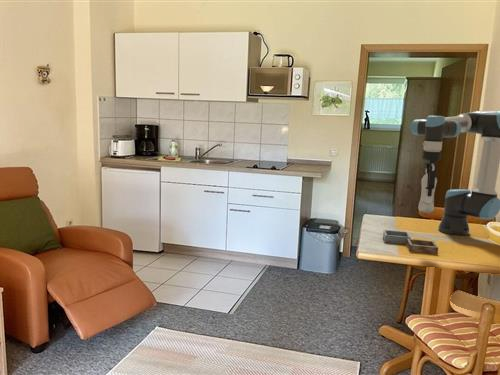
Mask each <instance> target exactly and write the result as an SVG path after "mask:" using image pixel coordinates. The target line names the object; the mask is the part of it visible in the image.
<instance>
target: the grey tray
mask: <svg viewBox="0 0 500 375" xmlns="http://www.w3.org/2000/svg"><path fill="white" fill-rule="evenodd" d="M382 237H383V242H384V243H387V244H389V243H391V244H401V245H406V242H407V239H412V237H411V235H410V234H409V232H408V231H400V230H390V229H389V230H388V229H383V234H382Z"/></svg>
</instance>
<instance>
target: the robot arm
mask: <svg viewBox="0 0 500 375" xmlns="http://www.w3.org/2000/svg"><path fill="white" fill-rule="evenodd" d="M409 127H410V132H411V134H412V135H414V136H419V137H420V136H421V137H423V136H424V139H423V142H422V146H423V151H422V160H425V161H426V162H425V163H424V172H423V173H424V174H423V176H424V175H425V174H426V172H425V171H426V168H427V174H428V180H427V187H426V188H425V189H426V197H425V203H429V204H432V195H433V189H434V188H435V187H434V186H435V177H436V174H437V173H436V172H437V168H438V167H437V164H436V161H441V158H442V152H441V151H442V148H443V138H450V139H451V138H456V137H458V136H459V135H460V134H461V133H471V134H478V135H480V137H481V139H482V140H483V145H482V149H481V155H480V161H479V168H478V174H477V178H476V184H475V188H473V189H472V190H471V189H466V188H465V189H463V188H462V189H459V188H458V189H457V188H456V189H454V188H453V189H448V190H447V191H446V193H445V199H444V200H445V201H444V207H443V208H444V209H443V215H442V219H441V221H440V223H439V225H438V231H439V232H442V233H445V234H448V235H449V234H450V235H456V236H465V235H466V236H467V235H469V234H470V227H469V221H468V217H473V218H477V219H480V220H488V221H489V220H493V219H494V218H496V216H497V215H498V214H499V212H500V198H499V197H498V193H497V191H496V186H497V179H498V174H499V167H500V110H497V111H496V110H477V111H470V112H465V113H460V114H457V115H456V116H455V115H454V116H447V117H446V116H443V115H428V116H427V117H426V119H420V118H419V119H414V120H412V122H411V123H410V126H409ZM435 189H436V188H435Z"/></svg>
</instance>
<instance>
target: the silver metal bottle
mask: <svg viewBox="0 0 500 375" xmlns="http://www.w3.org/2000/svg"><path fill="white" fill-rule="evenodd" d="M424 172H426V174H425V175H424V174H423V176H422V178H421V180H420V181H421V182H420V184H421V193H420V194H421V195H420V199H419V202H418V207H417V208H418V211H419V212H422V213H426V214H429V213H432V212H434V210H435V192H436V188H437V187H436V186H437V183H438V179H437V177H436V176H435V186H434V187H435V188H434V189H433V195H432V204H429V203H425V197H426V189H425V188H426V187H427V180H428V174H427V168H426V171H425V170H424Z"/></svg>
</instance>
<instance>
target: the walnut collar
mask: <svg viewBox="0 0 500 375" xmlns="http://www.w3.org/2000/svg"><path fill="white" fill-rule="evenodd" d="M405 245H406V247H407V249H408V251H409V252H414V253H424V254H434V255H435V254H436V255H438V253H439V246H438V245H437V244H436V242H435V241H434V240H429V239H426V240H425V239H415V238H411V239H407V242H406V244H405Z"/></svg>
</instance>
